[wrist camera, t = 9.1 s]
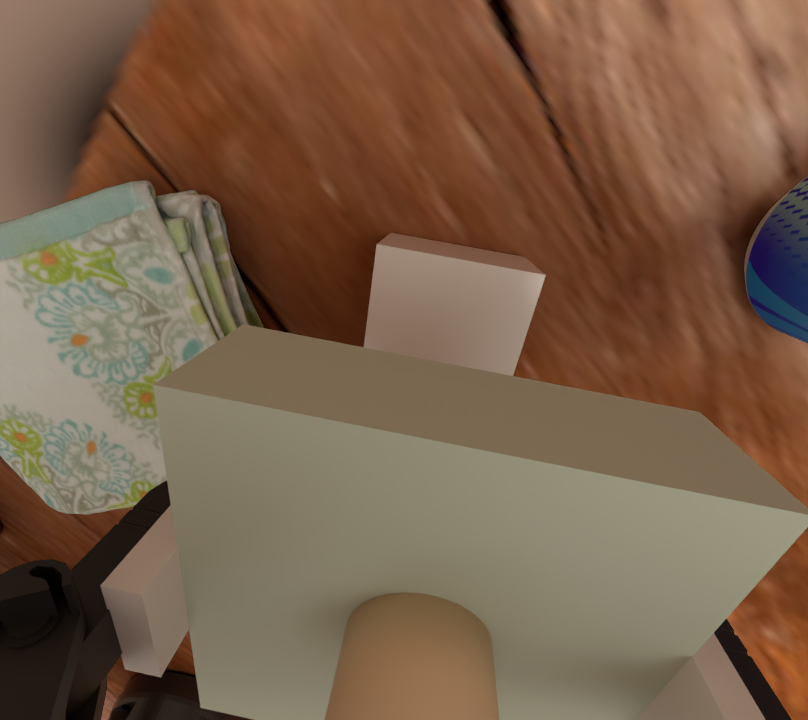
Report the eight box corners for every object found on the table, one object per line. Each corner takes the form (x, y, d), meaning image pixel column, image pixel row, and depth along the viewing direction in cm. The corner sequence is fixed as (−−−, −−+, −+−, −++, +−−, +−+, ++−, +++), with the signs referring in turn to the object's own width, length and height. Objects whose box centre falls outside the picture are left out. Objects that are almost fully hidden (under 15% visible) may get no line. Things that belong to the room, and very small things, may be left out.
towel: (332, 450, 26) (308, 506, 22) (88, 484, 30) (23, 537, 26) (224, 170, 19) (155, 163, 15) (-73, 261, 23) (-201, 278, 19)
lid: (250, 602, 13) (146, 822, 8) (243, 324, 8) (16, 475, 4) (547, 665, 12) (602, 928, 8) (699, 412, 8) (999, 680, 4)
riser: (364, 422, 25) (348, 468, 20) (391, 232, 19) (376, 244, 15) (470, 442, 24) (474, 493, 20) (524, 256, 19) (545, 275, 15)
